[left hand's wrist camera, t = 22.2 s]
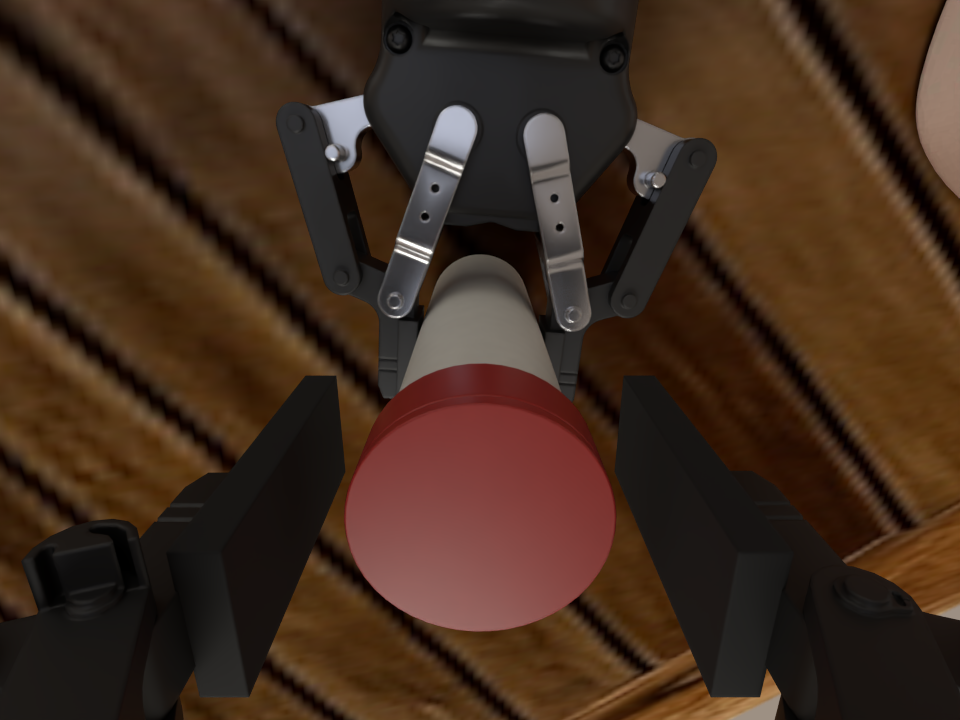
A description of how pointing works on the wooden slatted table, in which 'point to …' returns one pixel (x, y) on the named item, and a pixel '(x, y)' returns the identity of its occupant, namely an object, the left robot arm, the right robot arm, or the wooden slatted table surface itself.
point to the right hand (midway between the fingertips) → (475, 409)
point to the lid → (480, 500)
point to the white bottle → (480, 322)
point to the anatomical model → (942, 98)
